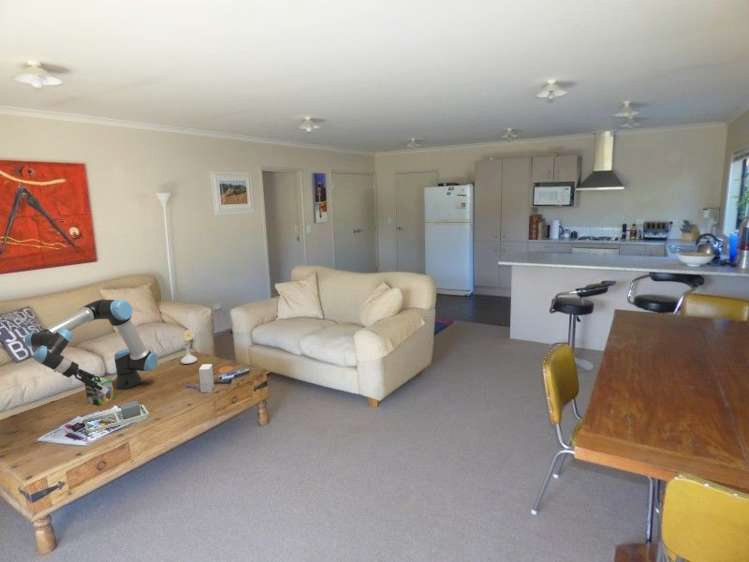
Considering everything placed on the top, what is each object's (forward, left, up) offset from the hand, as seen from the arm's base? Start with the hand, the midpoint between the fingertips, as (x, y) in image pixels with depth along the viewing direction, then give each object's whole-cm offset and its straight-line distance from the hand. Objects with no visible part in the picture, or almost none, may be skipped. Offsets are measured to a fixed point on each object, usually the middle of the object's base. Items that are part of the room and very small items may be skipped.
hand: (105, 388), depth 243 cm
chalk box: (-1, -2, -7) cm, 8 cm away
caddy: (+2, +3, -20) cm, 20 cm away
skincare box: (+15, +54, -21) cm, 59 cm away
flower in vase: (-35, +84, -20) cm, 93 cm away
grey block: (+5, +9, -19) cm, 22 cm away
